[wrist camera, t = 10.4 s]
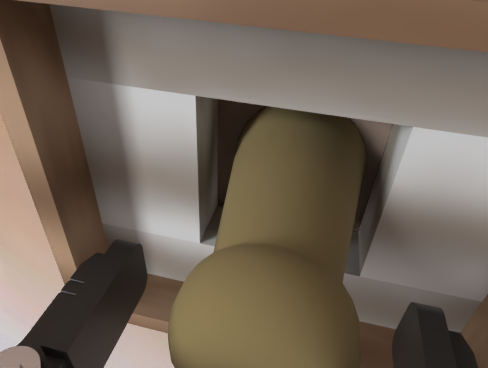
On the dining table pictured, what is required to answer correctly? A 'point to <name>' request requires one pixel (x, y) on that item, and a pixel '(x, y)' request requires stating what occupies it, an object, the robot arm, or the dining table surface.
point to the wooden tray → (268, 94)
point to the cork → (278, 252)
